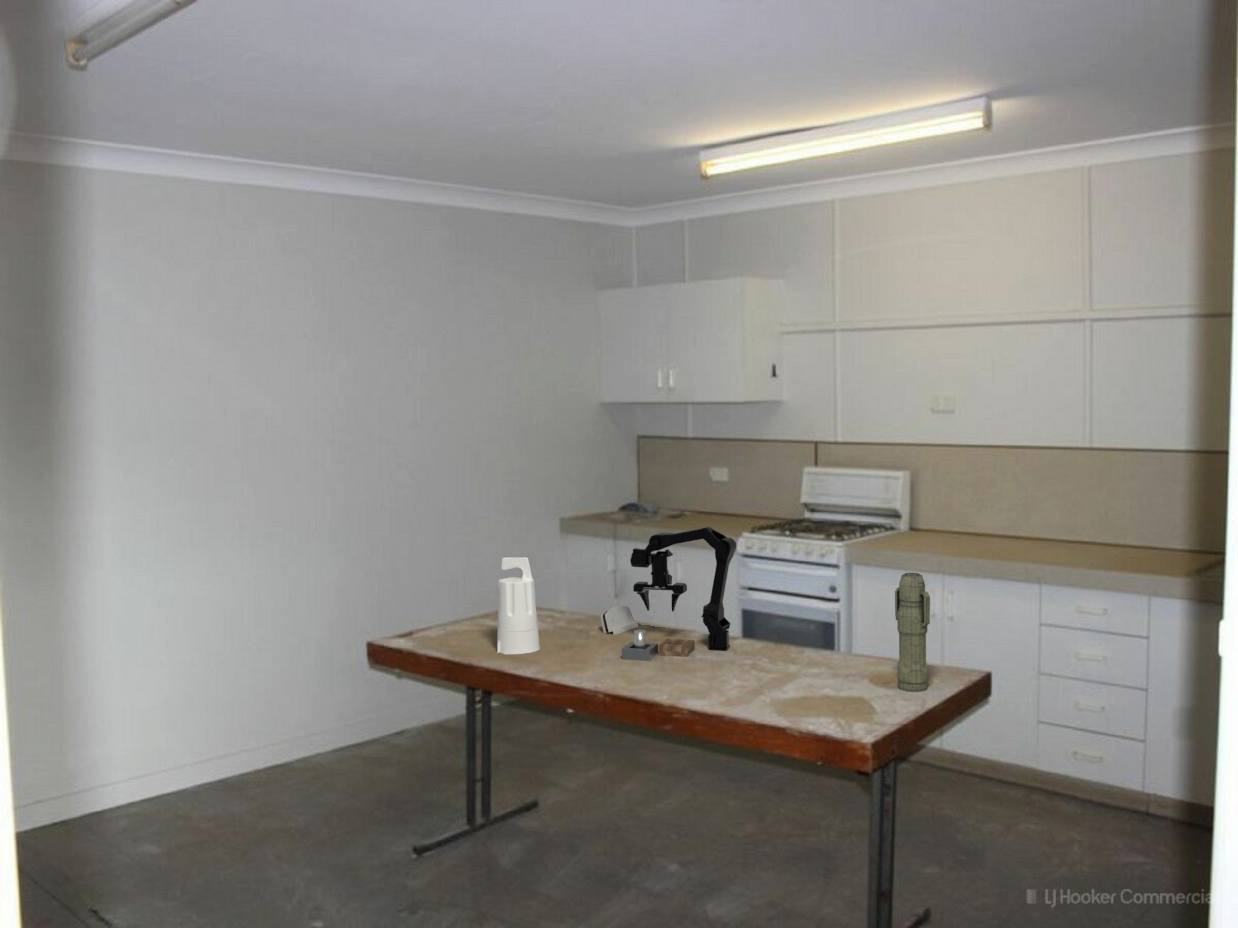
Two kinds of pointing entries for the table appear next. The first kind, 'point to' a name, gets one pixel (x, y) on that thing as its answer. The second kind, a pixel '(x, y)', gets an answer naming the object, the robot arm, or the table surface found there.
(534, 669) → the table surface
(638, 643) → the metal cylinder peg
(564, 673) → the table surface
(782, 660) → the table surface
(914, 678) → the thermos
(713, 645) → the robot arm
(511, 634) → the white hook-topped canister
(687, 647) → the socket block
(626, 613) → the hinge
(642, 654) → the block
